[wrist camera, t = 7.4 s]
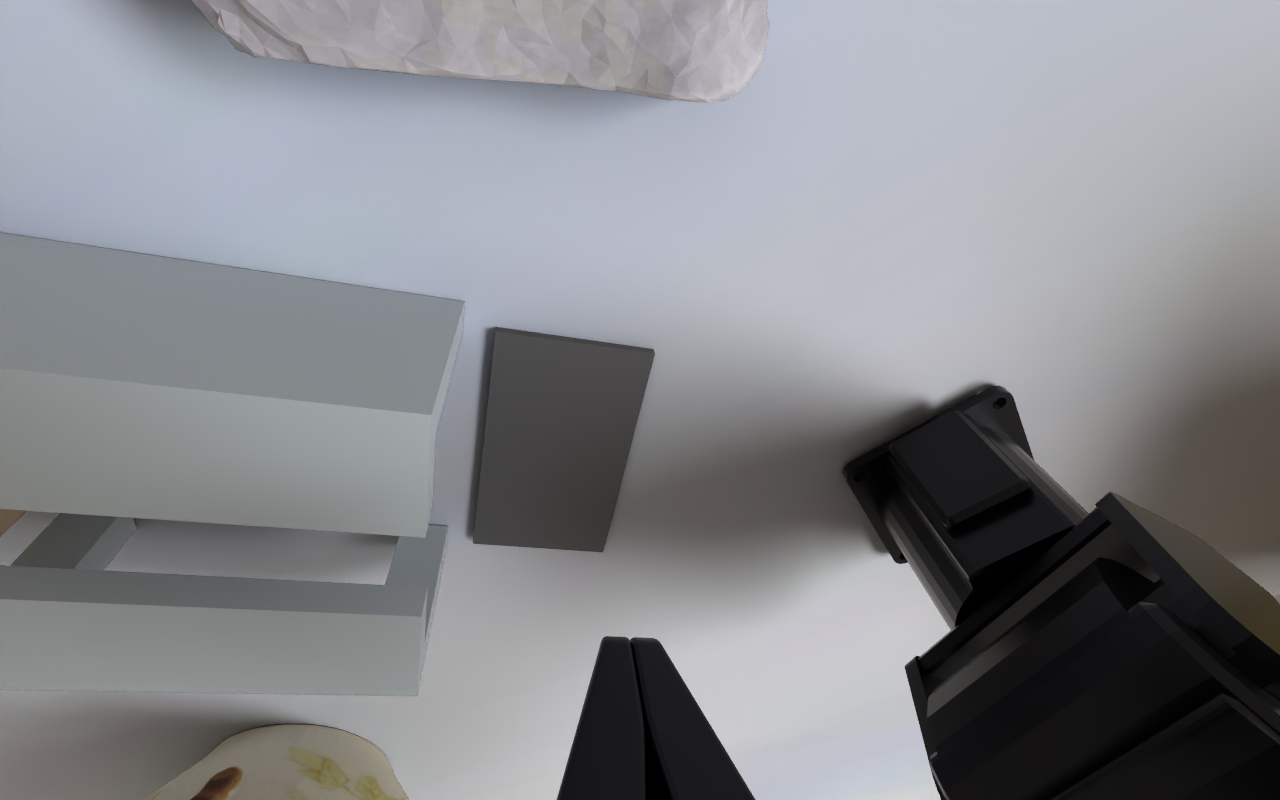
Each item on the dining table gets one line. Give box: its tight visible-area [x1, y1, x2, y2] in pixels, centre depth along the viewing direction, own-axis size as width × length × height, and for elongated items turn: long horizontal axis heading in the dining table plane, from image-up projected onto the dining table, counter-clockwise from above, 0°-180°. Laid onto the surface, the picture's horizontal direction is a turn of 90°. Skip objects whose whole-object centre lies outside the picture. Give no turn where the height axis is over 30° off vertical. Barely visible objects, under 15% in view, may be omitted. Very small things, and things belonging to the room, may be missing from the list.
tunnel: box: [0, 233, 465, 696], centre depth 17 cm, size 12×10×6 cm
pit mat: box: [473, 327, 655, 552], centre depth 22 cm, size 5×9×1 cm, turn 167°
